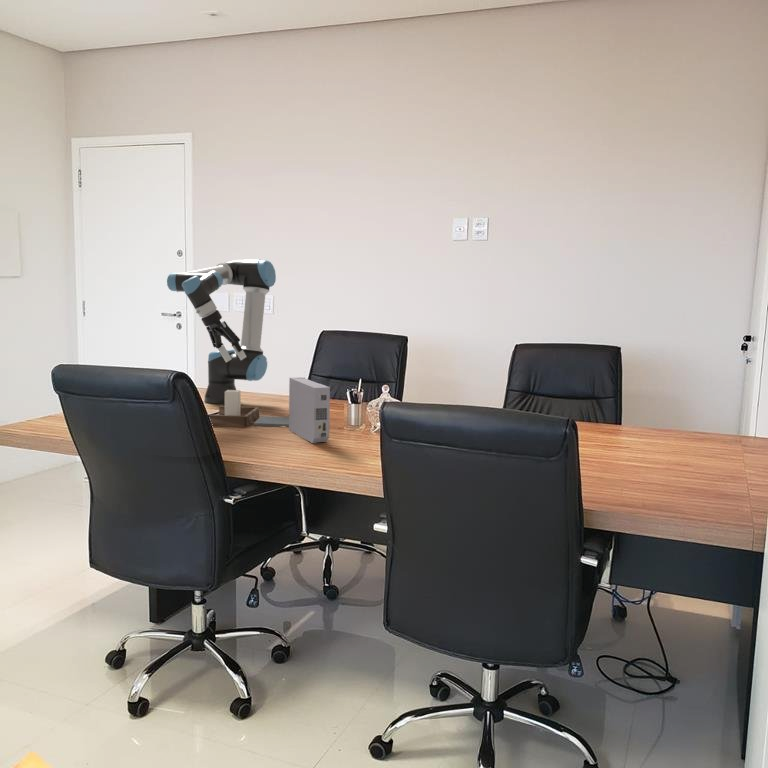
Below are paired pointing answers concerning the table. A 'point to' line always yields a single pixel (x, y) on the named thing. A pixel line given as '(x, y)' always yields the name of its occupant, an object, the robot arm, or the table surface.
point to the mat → (272, 421)
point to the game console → (309, 409)
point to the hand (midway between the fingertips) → (236, 359)
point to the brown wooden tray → (235, 417)
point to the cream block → (232, 402)
